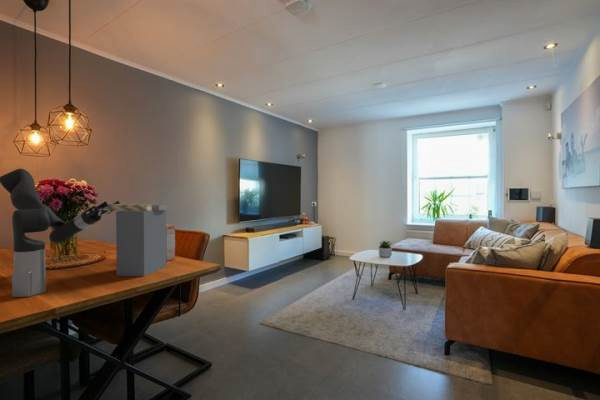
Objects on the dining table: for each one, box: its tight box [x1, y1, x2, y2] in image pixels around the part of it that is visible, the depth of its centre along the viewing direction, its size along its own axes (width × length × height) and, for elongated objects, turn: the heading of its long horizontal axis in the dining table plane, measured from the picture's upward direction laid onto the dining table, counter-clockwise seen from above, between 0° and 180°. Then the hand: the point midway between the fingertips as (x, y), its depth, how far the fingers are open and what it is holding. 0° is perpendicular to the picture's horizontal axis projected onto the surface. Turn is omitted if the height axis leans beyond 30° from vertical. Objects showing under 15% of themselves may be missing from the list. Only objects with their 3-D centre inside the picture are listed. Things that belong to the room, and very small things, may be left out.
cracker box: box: [166, 223, 176, 262], centre depth 181 cm, size 14×6×21 cm, turn 58°
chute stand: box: [115, 204, 169, 277], centre depth 153 cm, size 16×20×33 cm
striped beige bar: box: [104, 203, 153, 212], centre depth 148 cm, size 22×4×3 cm, turn 85°
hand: (113, 202), depth 149 cm, fingers open, 8 cm apart
